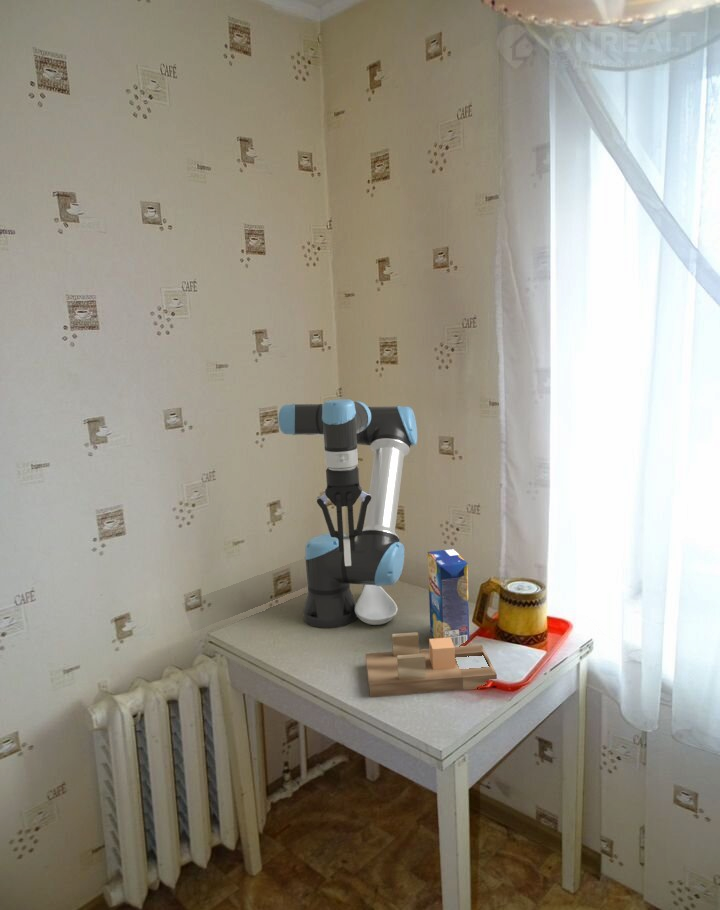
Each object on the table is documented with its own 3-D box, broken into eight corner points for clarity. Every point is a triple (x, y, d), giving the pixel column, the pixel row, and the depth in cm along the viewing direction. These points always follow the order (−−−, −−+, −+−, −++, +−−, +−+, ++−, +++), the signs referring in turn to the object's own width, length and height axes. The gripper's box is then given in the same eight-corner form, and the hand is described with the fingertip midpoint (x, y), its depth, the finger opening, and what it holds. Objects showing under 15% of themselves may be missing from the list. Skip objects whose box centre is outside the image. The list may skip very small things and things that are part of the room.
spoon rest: (401, 628, 180) (400, 603, 178) (357, 632, 179) (356, 607, 177) (388, 594, 203) (387, 571, 202) (349, 597, 202) (348, 574, 200)
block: (429, 658, 156) (429, 638, 155) (451, 657, 156) (450, 637, 155) (433, 669, 151) (432, 649, 150) (455, 668, 152) (454, 647, 151)
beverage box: (455, 628, 178) (453, 548, 173) (469, 647, 167) (467, 563, 163) (430, 631, 176) (427, 551, 172) (443, 651, 166) (440, 566, 162)
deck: (366, 665, 161) (364, 634, 159) (481, 656, 162) (481, 625, 161) (370, 697, 147) (368, 663, 146) (496, 686, 148) (496, 653, 147)
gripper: (313, 472, 151) (320, 571, 156) (371, 468, 152) (376, 567, 157) (313, 465, 159) (320, 560, 163) (368, 461, 159) (373, 556, 164)
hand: (347, 563), depth 160 cm, fingers closed
